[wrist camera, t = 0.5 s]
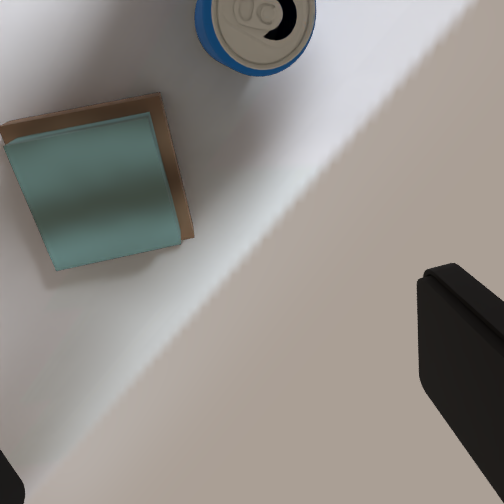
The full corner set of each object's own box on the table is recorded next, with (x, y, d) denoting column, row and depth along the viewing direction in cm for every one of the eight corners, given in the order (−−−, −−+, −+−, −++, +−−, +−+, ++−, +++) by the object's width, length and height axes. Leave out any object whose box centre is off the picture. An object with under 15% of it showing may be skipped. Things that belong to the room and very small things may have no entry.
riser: (9, 121, 35) (-19, 134, 30) (160, 92, 35) (157, 100, 30) (63, 254, 40) (48, 284, 35) (193, 226, 41) (195, 252, 36)
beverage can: (267, 73, 36) (307, 88, 25) (189, 57, 35) (195, 65, 24) (285, -17, 33) (336, -43, 23) (200, -38, 32) (213, -76, 21)
